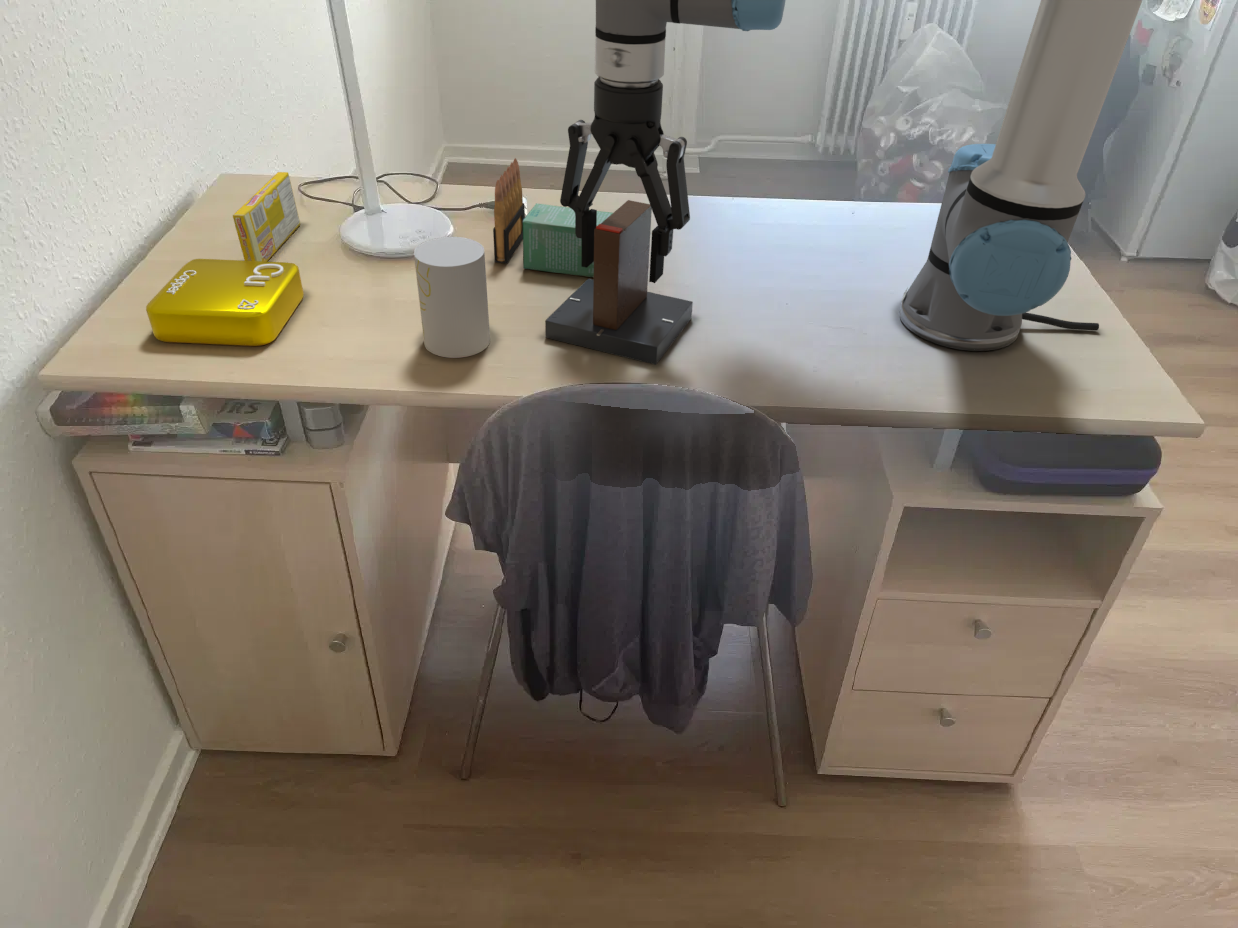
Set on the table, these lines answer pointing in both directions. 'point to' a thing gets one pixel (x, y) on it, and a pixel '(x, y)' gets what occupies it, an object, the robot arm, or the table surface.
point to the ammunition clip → (508, 214)
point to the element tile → (226, 302)
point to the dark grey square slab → (634, 338)
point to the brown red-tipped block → (621, 263)
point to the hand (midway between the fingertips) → (622, 270)
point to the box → (554, 240)
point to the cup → (453, 296)
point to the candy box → (267, 219)
